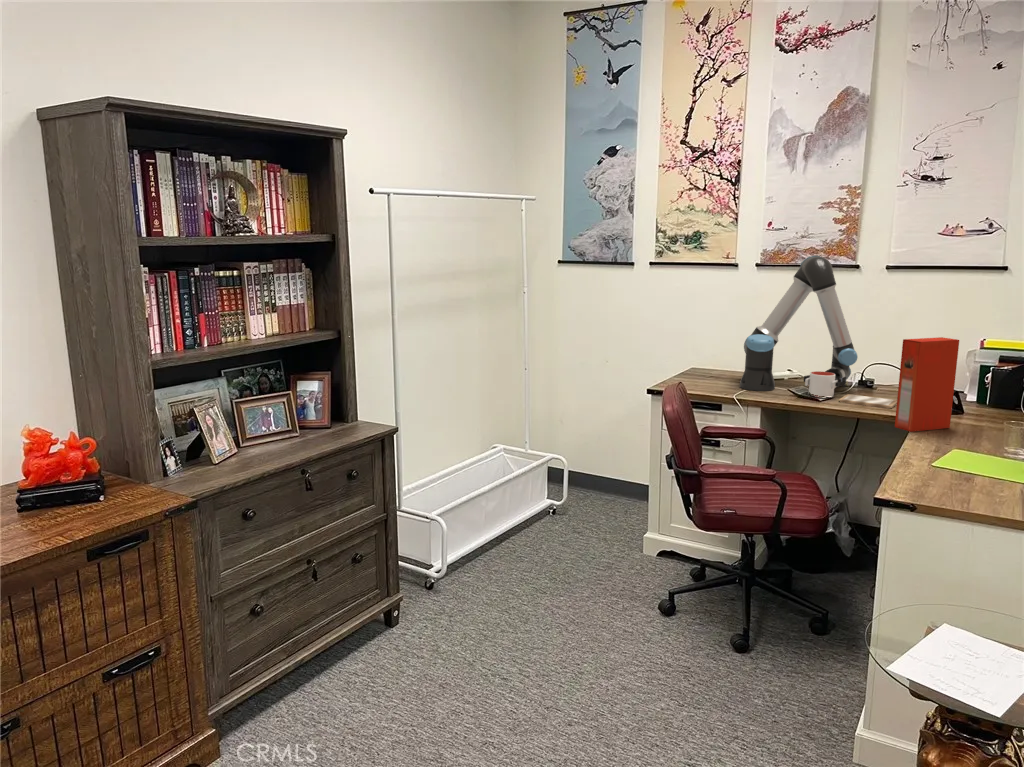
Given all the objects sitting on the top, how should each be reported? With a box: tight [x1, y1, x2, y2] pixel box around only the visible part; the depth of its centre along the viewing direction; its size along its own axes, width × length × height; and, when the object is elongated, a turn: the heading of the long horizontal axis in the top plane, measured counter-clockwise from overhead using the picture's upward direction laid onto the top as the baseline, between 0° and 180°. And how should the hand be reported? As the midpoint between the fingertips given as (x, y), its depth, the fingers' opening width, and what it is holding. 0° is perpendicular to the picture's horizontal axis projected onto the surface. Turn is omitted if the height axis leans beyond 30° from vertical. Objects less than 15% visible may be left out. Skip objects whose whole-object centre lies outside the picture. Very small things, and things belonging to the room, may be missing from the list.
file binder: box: [894, 336, 960, 433], centre depth 269 cm, size 8×17×32 cm, turn 109°
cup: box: [808, 370, 835, 397], centre depth 323 cm, size 10×10×10 cm
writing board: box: [838, 393, 897, 409], centre depth 312 cm, size 20×14×1 cm
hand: (819, 384), depth 319 cm, fingers closed on cup, 10 cm apart
